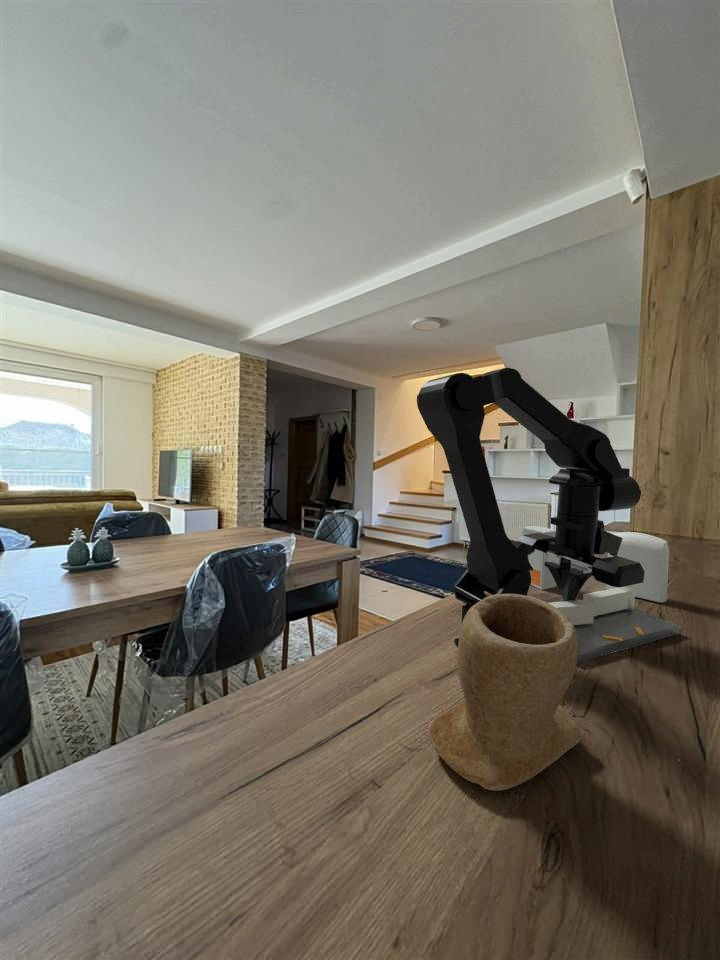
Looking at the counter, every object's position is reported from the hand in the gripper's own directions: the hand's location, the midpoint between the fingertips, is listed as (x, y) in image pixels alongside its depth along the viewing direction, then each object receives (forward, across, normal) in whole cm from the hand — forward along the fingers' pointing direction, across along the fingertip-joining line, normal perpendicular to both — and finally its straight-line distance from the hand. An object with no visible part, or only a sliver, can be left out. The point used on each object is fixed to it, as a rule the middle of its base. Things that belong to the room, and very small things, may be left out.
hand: (569, 608), depth 67 cm
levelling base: (+3, -2, -2) cm, 4 cm away
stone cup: (+2, -17, +28) cm, 33 cm away
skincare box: (+4, +17, -12) cm, 21 cm away
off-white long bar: (+1, -1, -9) cm, 9 cm away
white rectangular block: (+1, -1, +3) cm, 4 cm away
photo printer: (+4, +5, -25) cm, 26 cm away
